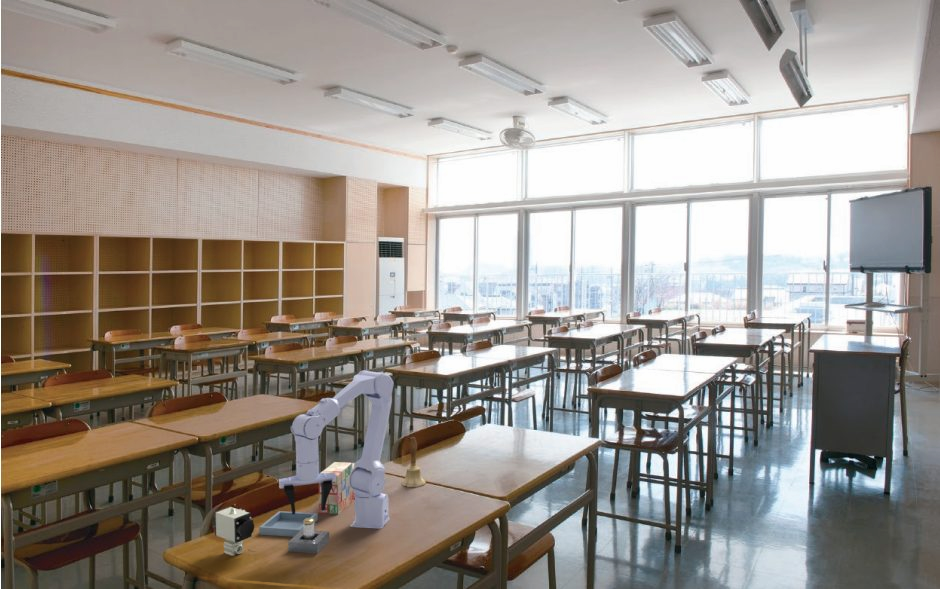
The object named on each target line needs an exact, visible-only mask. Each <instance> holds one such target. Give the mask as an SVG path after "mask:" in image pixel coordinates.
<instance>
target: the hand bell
mask: <svg viewBox="0 0 940 589" xmlns="http://www.w3.org/2000/svg"><path fill="white" fill-rule="evenodd" d="M416 439H417V438H416V437H415V436H412V437H411V438H410V441H409V453H410V466H408V467H407V468H406V474H405V477H404V479H402V481H401V485H402V487H405V486H407V488H419V487H422V485H423V486H425V485H426V480H425V479H424V478H423V477H422V474H421V468H420V467H419V466H417V464H416V462H417V461H416V459H417V458H416V454H417V451H418V443H417V440H416ZM424 484H425V485H424Z"/></svg>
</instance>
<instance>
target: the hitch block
mask: <svg viewBox="0 0 940 589" xmlns="http://www.w3.org/2000/svg"><path fill="white" fill-rule="evenodd" d="M314 536H315V539H314V540H304V530H301V531H300V532H298V533H297V534H296V535H295V536H294V537H292V538H291V539H290V540H289V541H288V542H287V543H288V548H287V549H288V552H291V553H304V554H319V553H320V551H321V550H322V549H324V547H325V546H326V545H327V544H328V543H329V542H330V531H326V530H314Z"/></svg>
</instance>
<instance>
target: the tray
mask: <svg viewBox="0 0 940 589" xmlns="http://www.w3.org/2000/svg"><path fill="white" fill-rule="evenodd" d="M306 518H313V519H314V524H316V522H317V521H318V519H319V518H318V513H317V512H316V513H315V512H302V511H301V512H300V511H295V514H292V511H286V510H285V511H284V510H283V511H282V510H279V511H277V512H276V513H275V514H274V515H272V516H271V517H270V518H268V519H267V520H266V521H265V522H263V524H261V525H260V526H259V527H258V530H259V531H258V532H259V533H258V534H259V535H263V536H264V535H265V536H276V537H277V536H279V537H292V538H293V537H294V536H295V535H296V534H297V533H298V532H300V531H301V530H303V520H304V519H306Z"/></svg>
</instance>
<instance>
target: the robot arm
mask: <svg viewBox="0 0 940 589" xmlns="http://www.w3.org/2000/svg"><path fill="white" fill-rule="evenodd" d="M394 384H395V383H394V381H393V379H392V377H391V376H390V375H389V374H388V373H386V372H377V371H376V372H375V371H369V370H366V369H364V370H361V371H359V372H358V373H357V374H355V375H354V376H353V379H352V381H350V382H349V383H348V384H347V385H346V386H345V387H344V388H342V389H341V390H340V391H339V392H338V393H337V394H336V395H334V396H333V397H332V398H331V397H326V398H324V397H323V398H321V399H320V400H319V403H318V404H316V405H315V406H314V407H312V408H311V409H308V410H307V412H306V413H305V414H303V413H302V414H299V415H297V416H296V417H295V418H294V420H293V422H292V425H290V431H291V433H292V434H293V436H294V441H295V457H296V458H295V460H296V464H295V465H296V468H295V469H296V475H294V476H293V475H292V476H289V477H285V478H279V479H278V484H279V485H278V487H279V489H283V491H284V493H285V495H286V497H287V499H288V501H289V504H290V508H291V512H292V514H295V512H296V506H295V493H296V492H295V487H298V486H304V485H306V486H307V485H312V484H313V485H314V484H319V483H321V508H322V510H325V506H326V501H327V498H328V495H329V493H330V491H331V489H332V482H336V474H335V473H321V472H320V473H319V470H320V469H319V465H320V464H319V437H320V436H321V435H322V433H323V429H324V428H325V427H326V425H328V424H329V423H330V422H332V421H333V420H334V419H335V418H336V417H338V416H339V415H340V412H341V408H342V407H344V406H345V405H347V404H349V402H352V401H353V400H354V399H355V398H357V397H359V396H360V395H364V396H365V397H367V398H368V400H369V401H370V403H371V405H372V406H371V410H370V414H369V415H370V416H369V419H368V424H367V429H366V434H365V439H364V443H363V444H364V445H363V447H362V448H363V449H362V453H361V457H360V458H359V459H358V460H357V461H355V462H354V463H355V464H354V468H353V470H352V472H351V473H350V476H349V485H350V487H351V488H352V489H353V493H355V499H354V521H353V522H352V523H351V525H349V527H352V528H365V529H382V528H384V526H385V525H386V524H387V522H388V521H390V510H389V508H390V507H389V506H390V505H389V504H390V503H389V501H390V500H389V495H388V494H386V493H383V491H384V488H385V486H386V479H385V478H386V477H385V474H386V468H385V467H384V465H383V464H382V462H381V457H382V453H383V449H384V443H385V437H386V432H387V427H388V423H389V418H390V413H391V408H392V402H393V395H392V394H393V388H394Z"/></svg>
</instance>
